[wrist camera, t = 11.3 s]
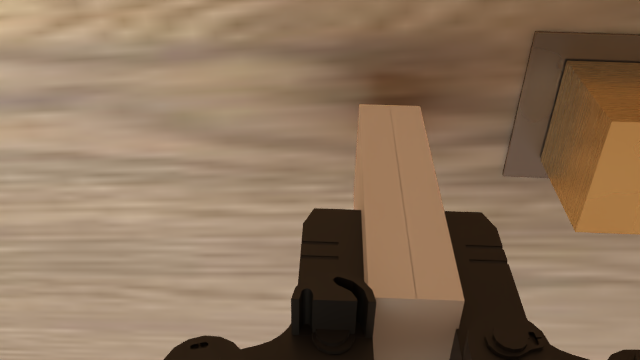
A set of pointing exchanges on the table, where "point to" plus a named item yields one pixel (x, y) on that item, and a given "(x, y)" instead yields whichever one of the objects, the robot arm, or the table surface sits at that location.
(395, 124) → the robot arm
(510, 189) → the table surface
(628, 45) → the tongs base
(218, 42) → the table surface
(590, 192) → the block
